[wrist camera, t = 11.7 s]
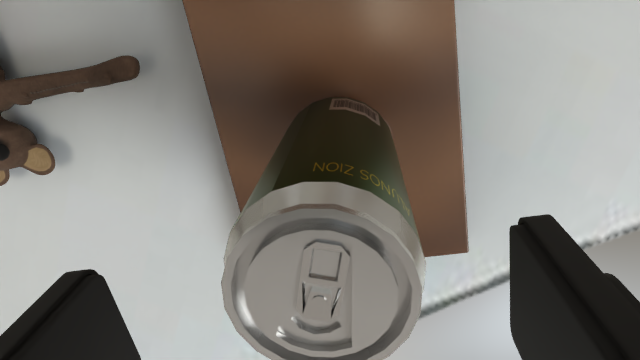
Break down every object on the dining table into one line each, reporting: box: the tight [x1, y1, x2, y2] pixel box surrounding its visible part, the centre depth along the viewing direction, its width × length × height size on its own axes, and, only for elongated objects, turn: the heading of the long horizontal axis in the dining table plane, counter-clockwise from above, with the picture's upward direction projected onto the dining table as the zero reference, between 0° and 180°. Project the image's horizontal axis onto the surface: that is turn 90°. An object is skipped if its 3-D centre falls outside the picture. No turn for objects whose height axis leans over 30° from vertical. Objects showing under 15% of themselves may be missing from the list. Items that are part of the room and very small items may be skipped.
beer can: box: [221, 97, 426, 360], centre depth 16 cm, size 5×5×12 cm
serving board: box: [182, 0, 469, 257], centre depth 21 cm, size 20×12×2 cm, turn 10°
